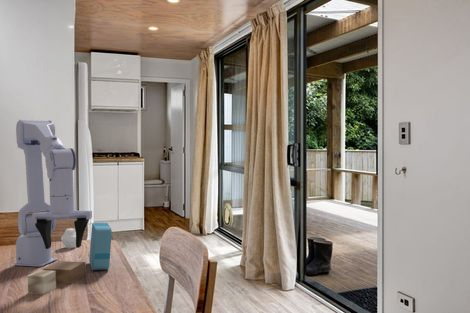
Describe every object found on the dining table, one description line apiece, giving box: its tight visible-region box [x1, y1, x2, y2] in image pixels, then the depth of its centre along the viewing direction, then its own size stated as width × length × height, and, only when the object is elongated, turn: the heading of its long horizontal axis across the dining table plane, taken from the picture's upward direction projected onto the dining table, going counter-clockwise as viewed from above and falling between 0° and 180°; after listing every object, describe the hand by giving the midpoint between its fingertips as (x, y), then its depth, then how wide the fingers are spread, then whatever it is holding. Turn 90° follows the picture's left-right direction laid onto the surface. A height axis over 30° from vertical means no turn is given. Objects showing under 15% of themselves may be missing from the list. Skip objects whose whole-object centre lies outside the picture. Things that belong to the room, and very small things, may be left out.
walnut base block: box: [42, 260, 87, 285], centre depth 111 cm, size 8×7×4 cm
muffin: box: [60, 227, 76, 250], centre depth 145 cm, size 6×6×7 cm
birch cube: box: [27, 269, 57, 295], centre depth 102 cm, size 4×4×4 cm
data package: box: [89, 222, 113, 271], centre depth 122 cm, size 12×4×12 cm, turn 24°
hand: (63, 247), depth 106 cm, fingers open, 7 cm apart
